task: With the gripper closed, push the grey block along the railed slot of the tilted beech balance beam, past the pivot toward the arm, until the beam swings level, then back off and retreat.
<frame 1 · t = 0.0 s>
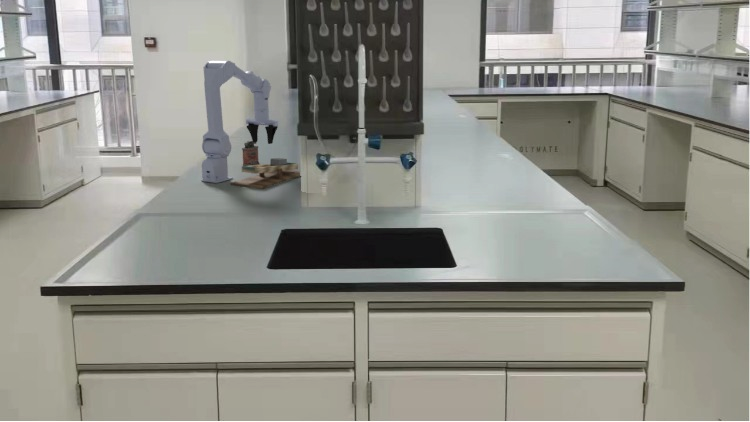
hand: (262, 142, 292), 10 cm above the countertop, fingers open, 7 cm apart
red tin: (251, 165, 300), on the countertop
stand: (271, 179, 271), on the countertop
grey block: (278, 166, 274), point 4 cm above the countertop, tilted 6°, touching beam
beam: (270, 167, 270), point 4 cm above the countertop, hinge at 6.3°, touching grey block
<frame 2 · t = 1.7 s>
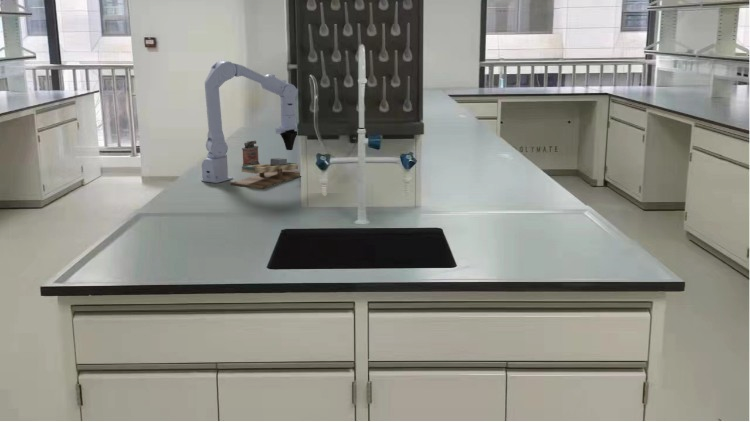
hand: (289, 149, 280), 9 cm above the countertop, fingers closed
nothing on the countertop moved.
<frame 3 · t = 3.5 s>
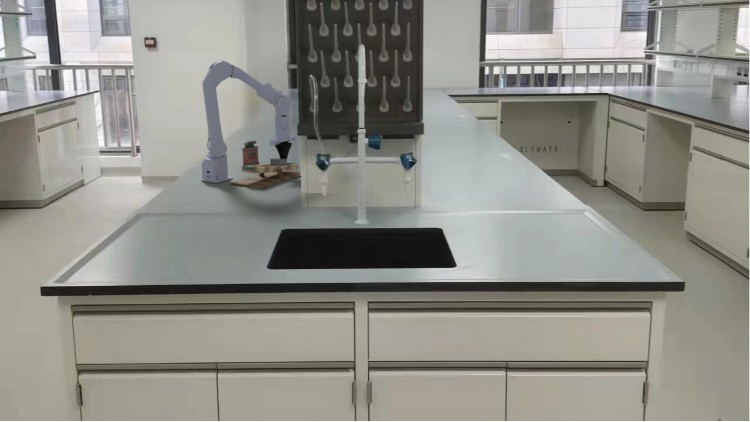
hand: (283, 161, 277), 5 cm above the countertop, fingers closed
grey block: (278, 166, 274), point 4 cm above the countertop, tilted 6°, touching beam, gripper
everything else where it was.
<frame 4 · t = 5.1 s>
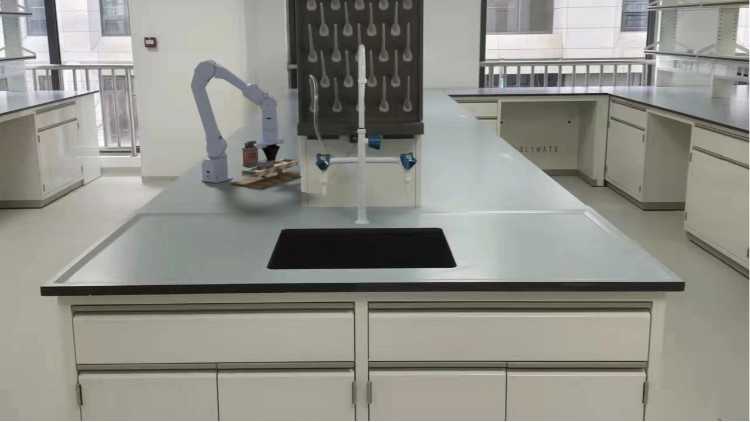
hand: (271, 165, 270), 5 cm above the countertop, fingers closed
grey block: (265, 168, 267), point 5 cm above the countertop, touching beam, gripper
beam: (270, 167, 270), point 4 cm above the countertop, hinge at -0.5°, touching grey block
everything else where it was.
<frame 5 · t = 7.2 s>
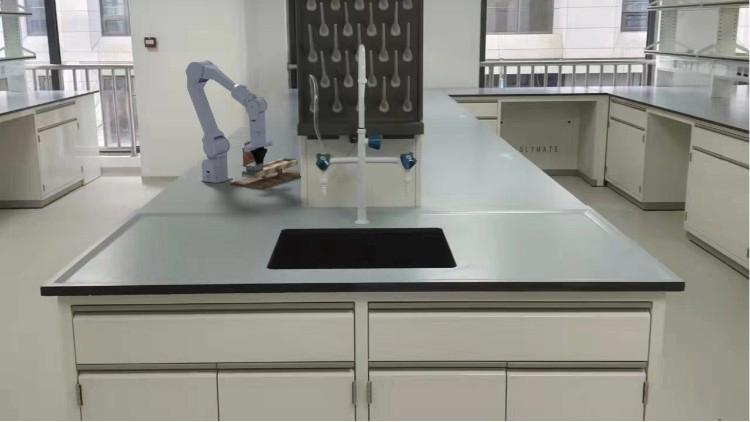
hand: (259, 168, 264), 5 cm above the countertop, fingers closed, pressing on grey block
grey block: (254, 172, 262), point 4 cm above the countertop, touching beam, gripper
beam: (270, 167, 270), point 4 cm above the countertop, hinge at -1.5°, touching grey block
everything else where it was.
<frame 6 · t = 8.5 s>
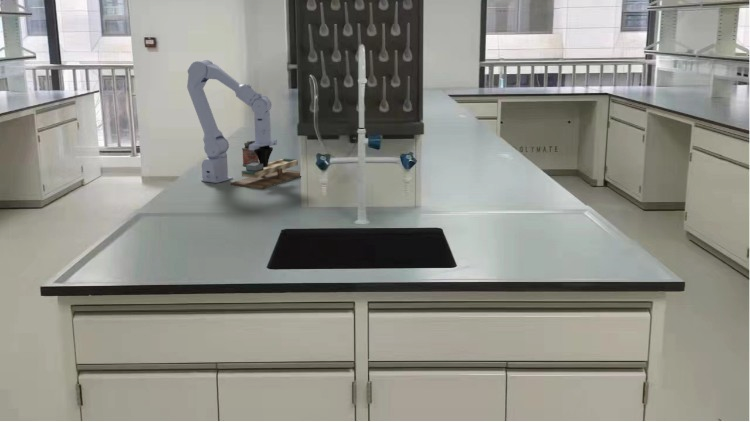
hand: (264, 166, 266), 5 cm above the countertop, fingers closed
grey block: (254, 172, 262), point 4 cm above the countertop, touching beam
beam: (270, 167, 270), point 4 cm above the countertop, hinge at -0.9°, touching grey block
everything else where it was.
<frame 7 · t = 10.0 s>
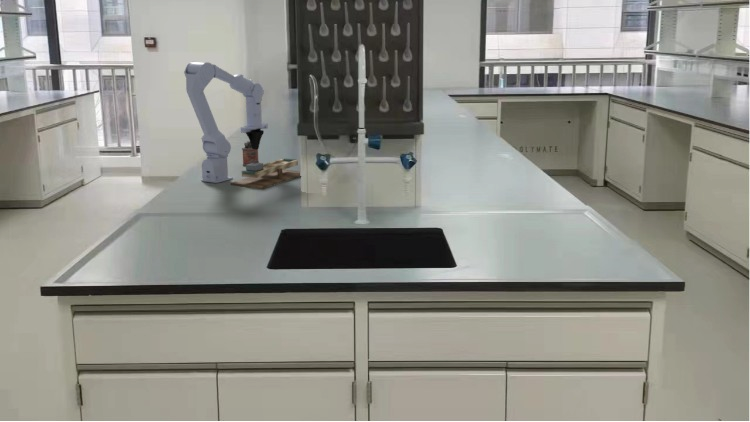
hand: (255, 148, 282), 9 cm above the countertop, fingers closed
nothing on the countertop moved.
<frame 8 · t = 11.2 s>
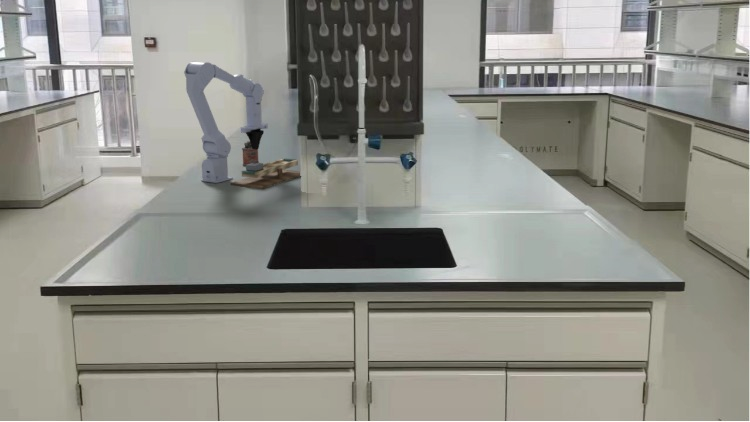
hand: (255, 148, 282), 9 cm above the countertop, fingers closed
nothing on the countertop moved.
at the end: beam at -1° (first picture: +6°); grey block inside the target area on the beam (1.8 cm from its centre), point 0.4 cm above the beam's base; grey block touching beam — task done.
